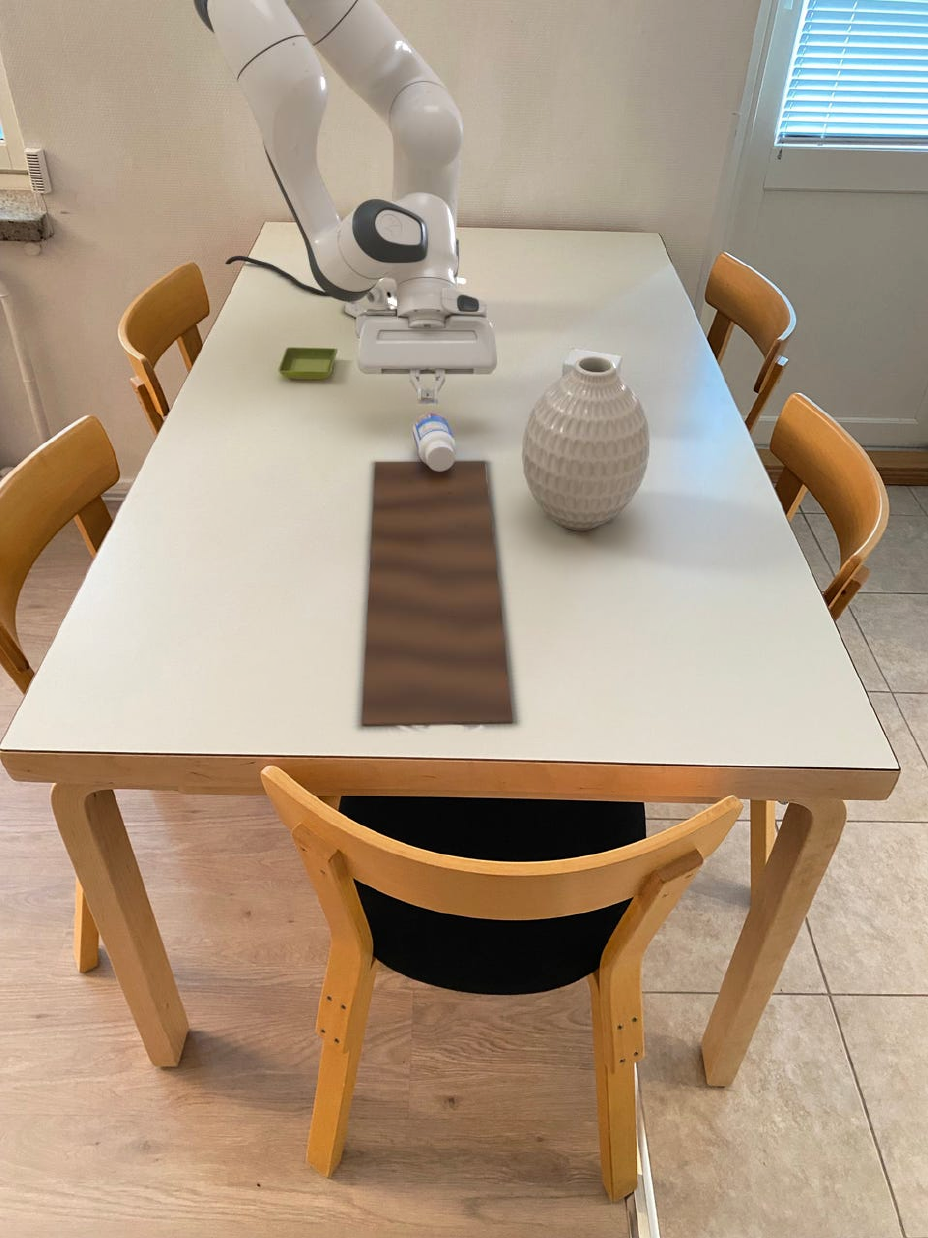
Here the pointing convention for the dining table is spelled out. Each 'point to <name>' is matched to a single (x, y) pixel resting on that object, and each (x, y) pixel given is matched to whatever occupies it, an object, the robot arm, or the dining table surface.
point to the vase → (586, 446)
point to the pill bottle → (434, 441)
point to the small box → (579, 354)
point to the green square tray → (307, 363)
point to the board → (433, 600)
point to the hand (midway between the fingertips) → (427, 402)
